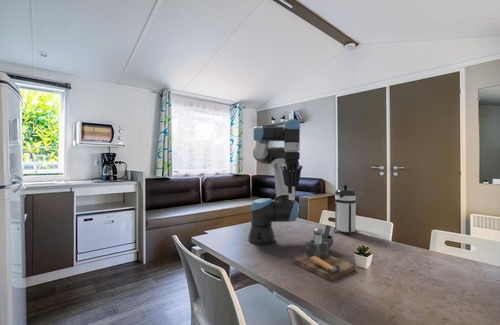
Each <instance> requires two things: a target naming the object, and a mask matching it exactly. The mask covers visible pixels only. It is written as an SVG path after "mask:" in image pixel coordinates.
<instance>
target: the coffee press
mask: <svg viewBox="0 0 500 325" xmlns="http://www.w3.org/2000/svg"><path fill="white" fill-rule="evenodd" d="M334 195H335V196H334V197H335V198H334V204H335V205H334V206H335V207H334V210H335V211H334V212H335V215H334V217H335V218H334V226H335V227H334V228H333V232H334V233H337V232H343V233H348V234H347V235H348V236H353V232H355V233H357V232H358V231H357V228H356V227H357V226H356V225H357V224H356V214H357V213H356V212H357V211H356V209H357V208H356V207H357V206H356V205H357V198H356V197H357V193H356V191H355V190H354V189H351V188H348V185H347V184H344V185H343V188H338V189H336V190H335V192H334Z"/></svg>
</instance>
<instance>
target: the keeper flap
mask: <svg viewBox="0 0 500 325" xmlns="http://www.w3.org/2000/svg"><path fill="white" fill-rule="evenodd" d="M310 260H312V261H314V262H315V263H317V264H318V265H320V266H322V267H323V268H325V269H327V270H328V268H329V269H331V273H332V272H335V271H337V270H338V268H337V267H336V268H335V267H333V266H331V265H330V264H328V263H326V262H325V261H323V260H321V259H320V258H318V257H316V256H313V257H310Z"/></svg>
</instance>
